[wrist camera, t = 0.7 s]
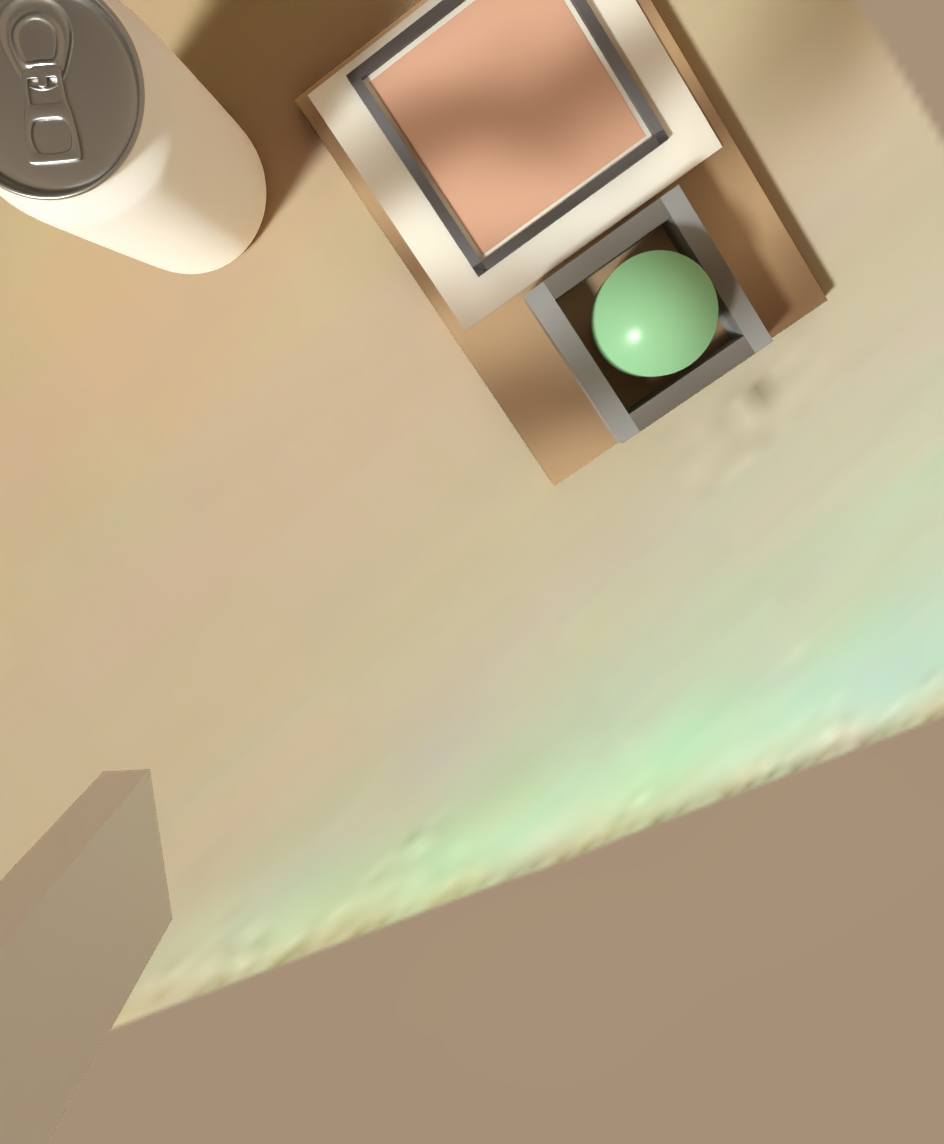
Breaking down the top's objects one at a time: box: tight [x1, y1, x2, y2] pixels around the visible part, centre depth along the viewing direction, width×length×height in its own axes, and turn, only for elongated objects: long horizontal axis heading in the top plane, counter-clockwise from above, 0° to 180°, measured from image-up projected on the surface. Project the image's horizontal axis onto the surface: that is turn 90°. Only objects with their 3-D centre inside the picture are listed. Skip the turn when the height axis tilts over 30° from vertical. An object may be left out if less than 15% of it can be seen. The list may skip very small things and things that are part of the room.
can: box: [0, 0, 266, 274], centre depth 29 cm, size 6×6×12 cm
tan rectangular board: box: [294, 0, 827, 486], centre depth 33 cm, size 18×13×3 cm
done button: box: [590, 250, 718, 377], centre depth 32 cm, size 4×4×2 cm
